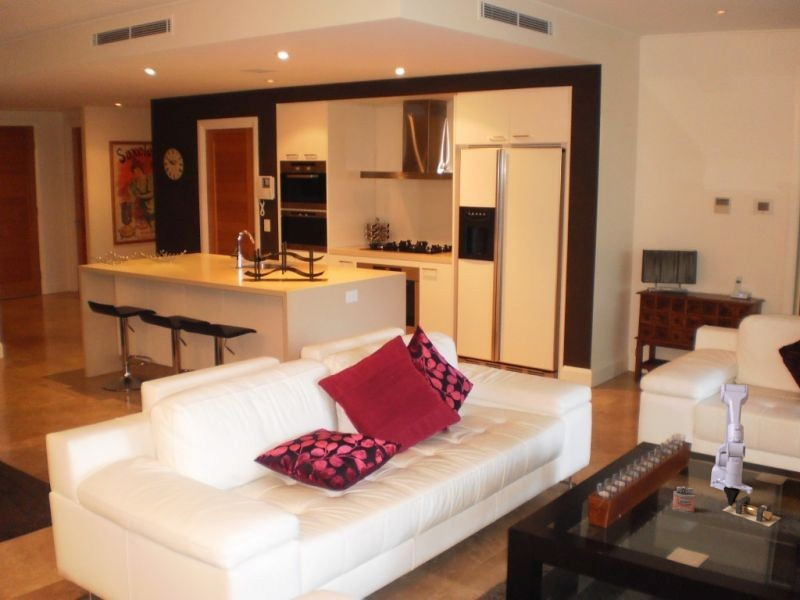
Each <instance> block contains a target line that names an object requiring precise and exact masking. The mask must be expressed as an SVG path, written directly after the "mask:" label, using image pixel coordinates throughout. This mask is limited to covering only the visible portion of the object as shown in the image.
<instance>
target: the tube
mask: <svg viewBox="0 0 800 600" xmlns="http://www.w3.org/2000/svg"><path fill="white" fill-rule="evenodd" d="M737 501H738V500H735V501H734V502H733V508H735V509H736V502H737ZM758 508H759V507H756V506H753V505H751V504H750V505H747V504H744V503H743V504H742V511H743V512H746V513H749V514H752V515H755V516H757V509H758ZM772 515H774V514H773V512H771V511H770V512H768V511H765V510H764V511H763V518H764V519H767V520H771V519H772Z"/></svg>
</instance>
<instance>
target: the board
mask: <svg viewBox="0 0 800 600" xmlns="http://www.w3.org/2000/svg"><path fill="white" fill-rule="evenodd" d="M736 501H737V502H736V509H735V508H733V506H729V505H727V506H726V507H725V508H724V509H722V511H724V512H726V513H728V514H729V513H730V514H732V515H734V516H738V517H741V518H744V519H747V520H749V521H752V522H755V523H758V524H761V525H764V526H767V527H770V526H772V525H773V524H775V523H776V522H777V521H779V520H780V519H781V517H780V516H777V515H774V514H773V515H772V519H771V520H767V519H764V518H763V511H764V510H765V511H768V512H771V509H772V508H771V506H772V504H771V503H770V502H765V503H764V504H763V505H761V506H759V507H757V508H758V509H757V516H755V515H752V514H749V513H746V512H743V511H742V504H743V503H744V504H747V505H750V506H751V496H748V495H746V496H744V497H742V498H741V499H739V500H736Z"/></svg>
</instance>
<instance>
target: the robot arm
mask: <svg viewBox="0 0 800 600" xmlns="http://www.w3.org/2000/svg"><path fill="white" fill-rule="evenodd" d="M749 391H750V390H749V386H748V385H747V384H745V385H742V384H733V383H732V384H731V383H721V387H720V402H721V403H723V404H725V408H726V410H725V426H724V427H725V428H724V442H723V443H721V444H720V445H718V446H717V448H716V453H715V464H714V466H713V467H712V470H711V475H710V477H711V478H710V485H709V486H710V487H712V488H716V489H719V490H722V491H723V492H724V493H725V495H726V498H727V502H728V503H727V504H728V506H733V502H734V501H737V500H736V499H737V498H738V496H739V494H740V493H741V491H742V492H745V493H747V494H749V495H751V494H752V493H753V490H754V489H753V487H751V486H749V485H746V484H745V483H743V482H742V479H743V478H742V477H743V466H744V465H743V464H744V458H746V453H747V451H746V450H747V449H746V448H747V447H746V441H745V438H744V437H745V435H744V433H745V432H744V430H745V429H744V426H743V424H742V423H741V416H742V407H743V405H745V404H746V402H747V401H748V400H749Z"/></svg>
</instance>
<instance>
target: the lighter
mask: <svg viewBox="0 0 800 600" xmlns="http://www.w3.org/2000/svg"><path fill="white" fill-rule="evenodd" d="M695 499H696V494H695V488H691V487H686V486H676V490H674V491H673V501H672V510H673V511H676V512H680V513H688V514H694V513H695V511H696V510H695V506H696V505H695V504H696V502H695V501H696V500H695Z"/></svg>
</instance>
